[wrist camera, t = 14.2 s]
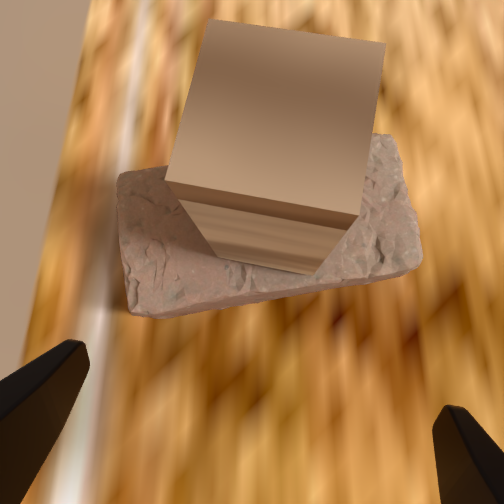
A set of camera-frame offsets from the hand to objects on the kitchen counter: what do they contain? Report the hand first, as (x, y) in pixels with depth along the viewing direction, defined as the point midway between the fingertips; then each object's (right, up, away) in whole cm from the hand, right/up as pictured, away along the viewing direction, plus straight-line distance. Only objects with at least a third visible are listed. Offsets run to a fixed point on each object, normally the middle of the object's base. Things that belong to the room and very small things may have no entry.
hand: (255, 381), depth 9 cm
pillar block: (+1, +5, +10) cm, 12 cm away
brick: (+1, +4, +15) cm, 16 cm away
